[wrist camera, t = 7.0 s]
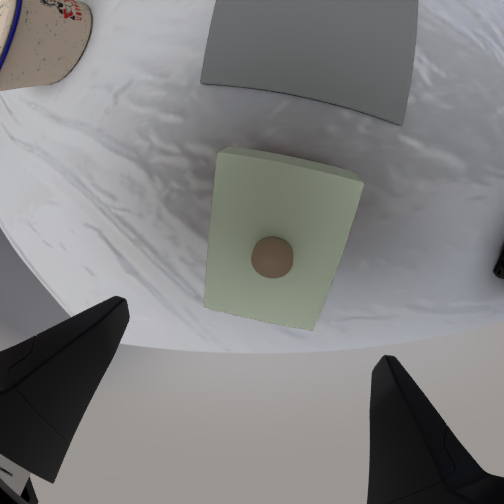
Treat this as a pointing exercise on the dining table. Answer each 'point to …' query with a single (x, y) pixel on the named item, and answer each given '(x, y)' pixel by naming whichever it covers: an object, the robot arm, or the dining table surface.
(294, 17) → the mat
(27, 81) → the teacup with lid
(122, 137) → the dining table surface
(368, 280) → the dining table surface
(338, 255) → the lid
